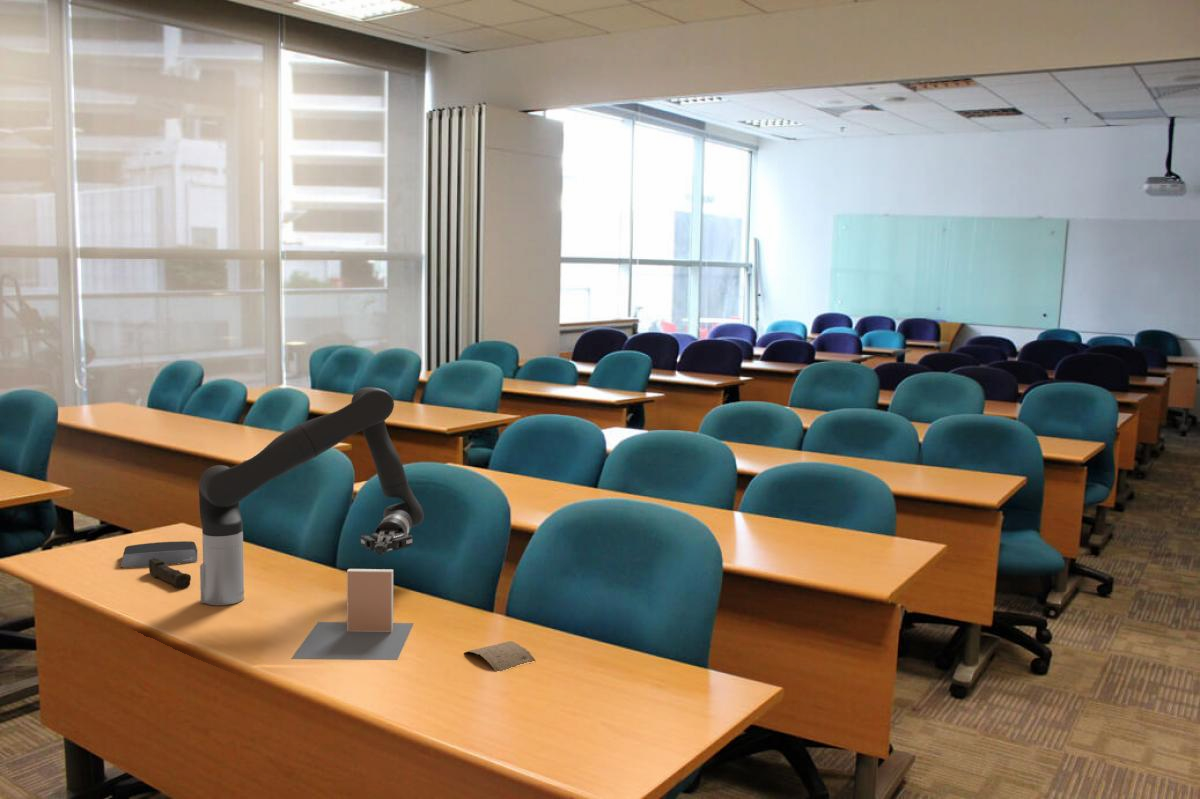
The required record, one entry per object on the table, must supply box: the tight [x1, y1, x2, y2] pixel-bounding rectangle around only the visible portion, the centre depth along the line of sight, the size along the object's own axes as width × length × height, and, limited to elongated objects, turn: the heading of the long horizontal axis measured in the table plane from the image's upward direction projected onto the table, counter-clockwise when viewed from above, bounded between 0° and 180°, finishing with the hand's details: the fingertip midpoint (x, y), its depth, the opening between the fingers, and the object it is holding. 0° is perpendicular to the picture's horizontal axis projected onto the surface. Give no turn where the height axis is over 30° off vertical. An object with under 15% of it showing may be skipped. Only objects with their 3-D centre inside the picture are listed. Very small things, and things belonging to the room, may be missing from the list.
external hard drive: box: [120, 540, 198, 568], centre depth 268 cm, size 13×19×4 cm
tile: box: [346, 568, 394, 632], centre depth 216 cm, size 10×2×14 cm, turn 92°
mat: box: [290, 621, 414, 661], centre depth 210 cm, size 22×22×1 cm
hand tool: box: [148, 558, 192, 590], centre depth 250 cm, size 19×4×5 cm, turn 47°
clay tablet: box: [464, 640, 536, 673], centre depth 204 cm, size 14×10×3 cm
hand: (379, 550), depth 225 cm, fingers closed
